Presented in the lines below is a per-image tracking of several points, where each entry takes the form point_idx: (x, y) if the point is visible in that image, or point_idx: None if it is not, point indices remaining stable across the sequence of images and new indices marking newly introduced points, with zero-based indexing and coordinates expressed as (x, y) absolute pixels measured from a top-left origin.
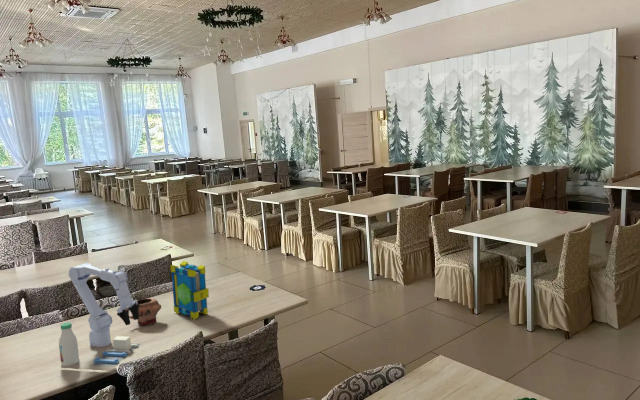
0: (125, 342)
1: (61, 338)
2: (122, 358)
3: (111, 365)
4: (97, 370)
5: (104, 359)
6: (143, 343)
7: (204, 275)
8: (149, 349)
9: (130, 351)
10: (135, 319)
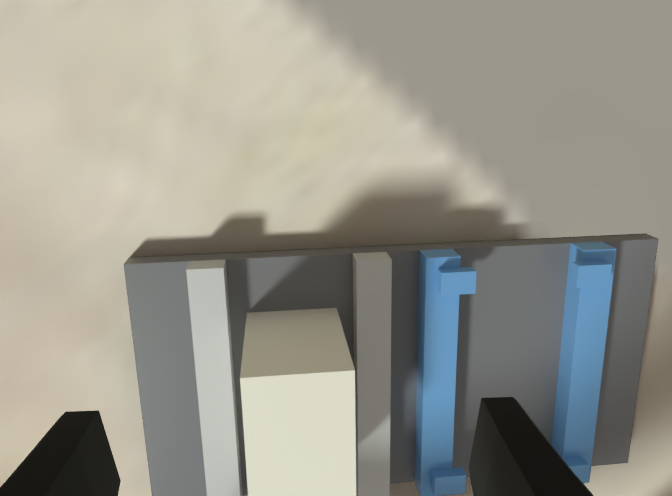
0: (350, 361)
1: None
2: (488, 258)
3: (633, 276)
4: (669, 360)
5: (575, 396)
6: (68, 264)
7: None
8: (197, 102)
9: (327, 270)
10: (113, 474)
